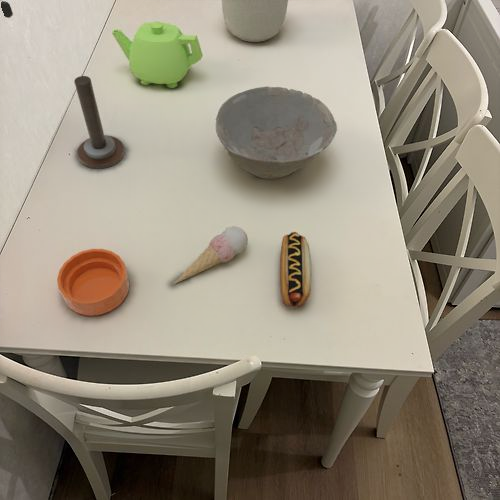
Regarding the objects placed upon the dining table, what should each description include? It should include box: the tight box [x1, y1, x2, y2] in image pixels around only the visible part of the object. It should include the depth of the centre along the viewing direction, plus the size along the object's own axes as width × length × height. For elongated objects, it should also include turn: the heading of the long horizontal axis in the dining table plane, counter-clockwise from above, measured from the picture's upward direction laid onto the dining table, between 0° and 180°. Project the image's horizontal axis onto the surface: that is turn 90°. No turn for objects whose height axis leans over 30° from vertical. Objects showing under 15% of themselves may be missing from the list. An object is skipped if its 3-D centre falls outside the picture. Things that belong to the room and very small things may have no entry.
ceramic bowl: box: [215, 86, 338, 180], centre depth 94 cm, size 22×23×10 cm
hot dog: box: [279, 231, 313, 308], centre depth 79 cm, size 5×13×5 cm, turn 177°
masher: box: [73, 75, 116, 160], centre depth 91 cm, size 6×6×16 cm
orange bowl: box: [56, 248, 130, 316], centre depth 76 cm, size 10×10×4 cm
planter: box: [221, 0, 289, 43], centre depth 123 cm, size 17×17×15 cm
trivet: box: [77, 134, 125, 170], centre depth 97 cm, size 9×9×1 cm
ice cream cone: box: [172, 225, 249, 286], centre depth 81 cm, size 5×5×15 cm
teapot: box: [111, 21, 204, 89], centre depth 110 cm, size 20×13×13 cm
